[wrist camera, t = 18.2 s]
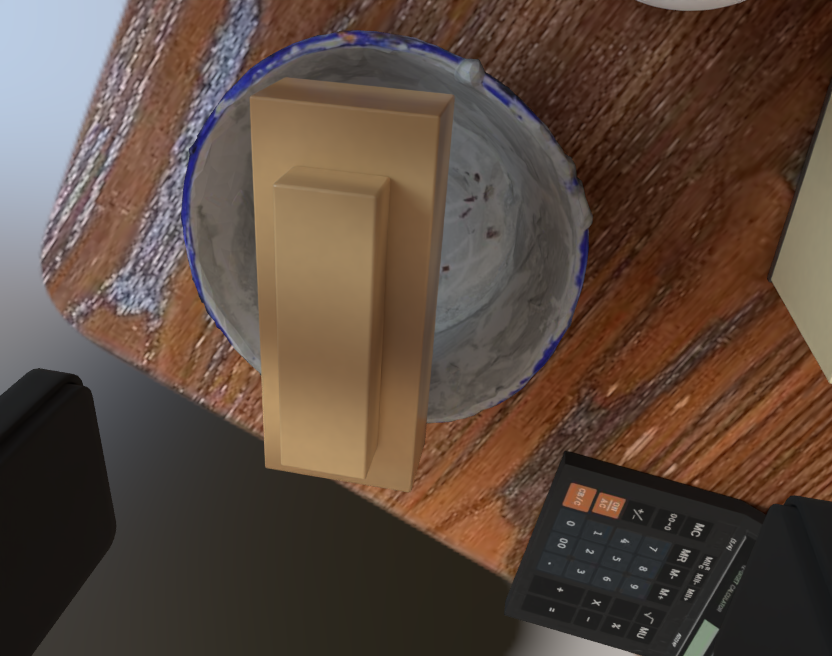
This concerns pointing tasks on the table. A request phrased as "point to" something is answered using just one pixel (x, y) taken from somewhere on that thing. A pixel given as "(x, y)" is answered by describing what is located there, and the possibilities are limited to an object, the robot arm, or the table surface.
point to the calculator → (633, 560)
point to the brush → (348, 273)
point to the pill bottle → (690, 4)
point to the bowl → (463, 223)
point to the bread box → (810, 246)
